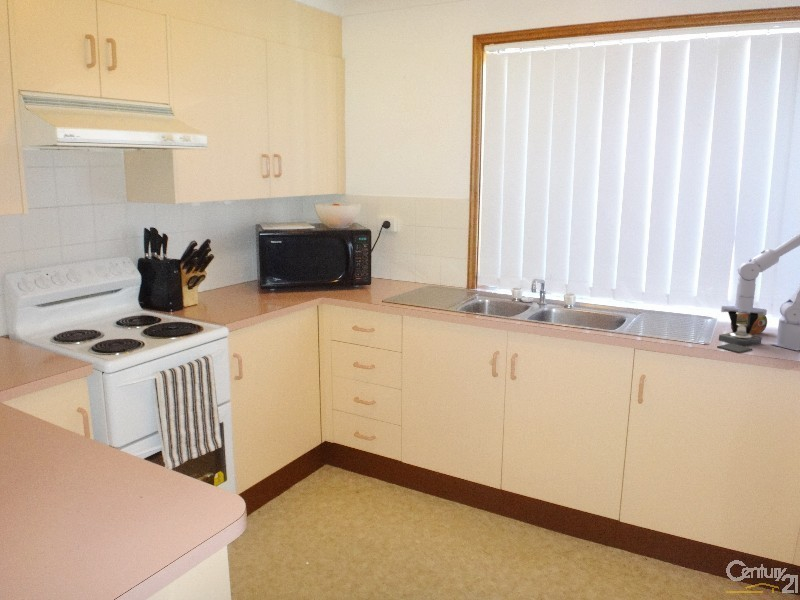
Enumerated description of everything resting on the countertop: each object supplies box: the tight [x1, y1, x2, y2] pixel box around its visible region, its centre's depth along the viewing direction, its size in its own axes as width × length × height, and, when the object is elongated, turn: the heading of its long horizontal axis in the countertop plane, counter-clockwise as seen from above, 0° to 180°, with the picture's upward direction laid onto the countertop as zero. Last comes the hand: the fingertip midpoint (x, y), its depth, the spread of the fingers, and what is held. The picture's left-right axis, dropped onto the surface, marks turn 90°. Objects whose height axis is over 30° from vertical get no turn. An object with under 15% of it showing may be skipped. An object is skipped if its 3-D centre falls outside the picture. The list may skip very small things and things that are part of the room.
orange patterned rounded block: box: [730, 313, 768, 335], centre depth 248 cm, size 15×3×8 cm, turn 105°
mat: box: [716, 343, 753, 354], centre depth 227 cm, size 8×8×1 cm
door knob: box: [729, 324, 753, 339], centre depth 236 cm, size 7×7×6 cm
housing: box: [718, 332, 763, 347], centre depth 237 cm, size 10×10×2 cm
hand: (740, 332), depth 236 cm, fingers closed on door knob, 4 cm apart
